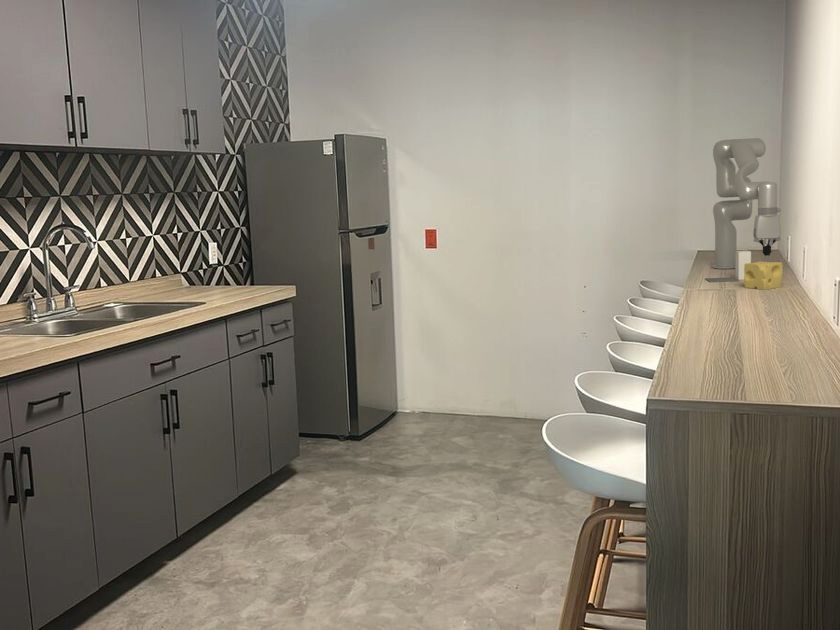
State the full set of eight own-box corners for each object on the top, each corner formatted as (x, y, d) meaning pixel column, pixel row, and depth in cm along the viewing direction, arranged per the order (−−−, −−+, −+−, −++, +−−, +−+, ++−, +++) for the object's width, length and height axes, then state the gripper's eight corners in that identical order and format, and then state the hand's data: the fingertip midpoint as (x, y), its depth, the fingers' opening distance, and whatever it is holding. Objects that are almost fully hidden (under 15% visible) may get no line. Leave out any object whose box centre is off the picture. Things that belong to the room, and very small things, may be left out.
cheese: (764, 290, 331) (764, 264, 330) (742, 287, 341) (742, 263, 339) (782, 287, 336) (783, 262, 334) (760, 284, 345) (761, 260, 344)
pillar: (735, 278, 366) (735, 251, 364) (747, 278, 365) (747, 250, 363) (738, 280, 361) (738, 252, 359) (750, 279, 360) (751, 251, 358)
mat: (704, 279, 370) (704, 278, 369) (733, 278, 368) (733, 277, 368) (710, 282, 360) (710, 281, 360) (739, 281, 358) (739, 280, 358)
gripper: (783, 210, 360) (782, 253, 363) (746, 212, 362) (746, 255, 365) (788, 211, 353) (788, 255, 356) (751, 213, 354) (751, 257, 357)
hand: (766, 255), depth 360 cm, fingers closed
